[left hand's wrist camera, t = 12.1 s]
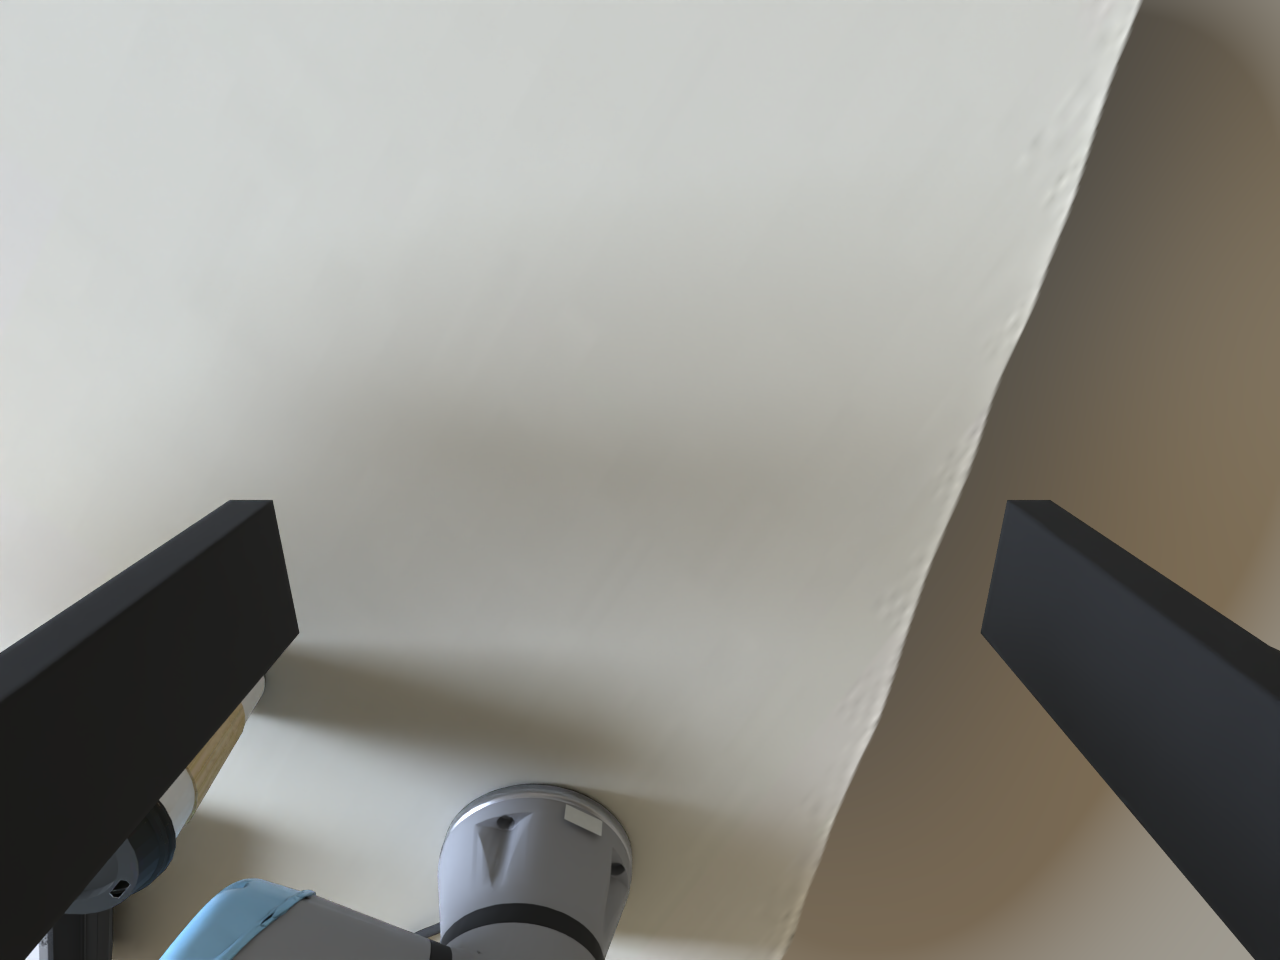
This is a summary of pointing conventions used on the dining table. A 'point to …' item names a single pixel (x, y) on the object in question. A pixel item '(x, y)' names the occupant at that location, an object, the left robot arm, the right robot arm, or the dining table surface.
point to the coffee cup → (164, 820)
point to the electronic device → (78, 938)
